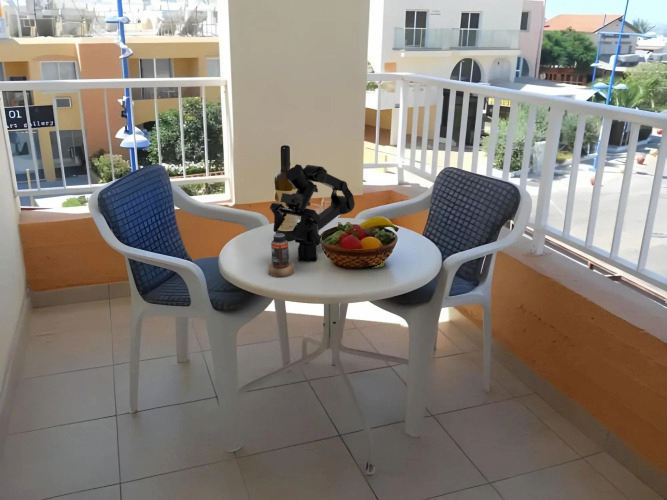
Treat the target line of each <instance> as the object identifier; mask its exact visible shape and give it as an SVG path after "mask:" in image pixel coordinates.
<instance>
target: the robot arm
mask: <svg viewBox="0 0 667 500" xmlns="http://www.w3.org/2000/svg"><path fill="white" fill-rule="evenodd" d="M285 178H286V179H287V180H288V182H289V183H290V184H291V186H292V187H294V189H296V191H295V193H294V192H293V193H284V192H282V194H281V197H280V202H275V201H274V202H272V203H271V204H270V206H269V209H270V211H271V213H273V215H274V219H273V220H274V222H273V232H274V233H277V231H278V230H279V229H280V228H281V226H282V224H283V223H284V221H285V220H286V218H285V217H287V215H290V216H295V217H300V220H299V222H296V224H295V226H294V227H293V229H292V236H293V239H294V242H295V243H298V244H299V245H298V247H297V258H298V261H299V262H317V261H318V260H317V259H318V257H319V255H318V246H320V244H322V241H321V242H320V238H321V237H322V236H321V235H320V234H319V232H320V230H322V229H323V228H325V226H327V225H328V224H329V223H331V222H332V221H333V220H335V219H336V218H337V217H339V216H341V215H345V214H349V213H351V212H352V211H353V210H354V208H355V198H354V195H353V193H352V191H351V190H350V189H349V187H348V182H347V181H345V180H341V179H340V178H338V177H336V176H333V175H331V174H329V173H328V171H327V169H325V168H324V166H318V165H313V164H312V165H311V164H307V165H305V166H304V167H303V166H302V165H301V164H295V165H294V166H293V167H291V168H289V169H288V170H287V171H286V173H285ZM313 182H314V183H320V184H321V185H325V186H326V187H329V188H330V189H332V193H331V194H330V199H331V200H330V205H329V206H328V207H326V208H325V209H324V210H322V211H321V212H320V213H318V212H317V210H315V209H310V208H307V207H308V206H309V207H310V206H311V199H312V197H313V195H314V193H318V192H319V190H318V185H317V184H314V183H313ZM337 191H339V192H341V193H342V195H343V196H342V195H338V194H337ZM283 203H284V204H285V206H284V205H283Z"/></svg>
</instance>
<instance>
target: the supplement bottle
mask: <svg viewBox="0 0 667 500" xmlns="http://www.w3.org/2000/svg"><path fill="white" fill-rule="evenodd" d="M270 244H271V247H270V249H271V263H272V265H273V266H274V267H276V268H284V267H287V266H288V265H289V262H290V255H289V250H290V249H289V242H288V240H287V239H286V235H285V234H284V233H279V232H278V233H275V234H273V240H272V241H271V243H270Z"/></svg>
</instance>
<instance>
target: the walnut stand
mask: <svg viewBox="0 0 667 500" xmlns="http://www.w3.org/2000/svg"><path fill="white" fill-rule="evenodd" d="M294 274H295V264H294V263H292V262H291V261H289V265H288V266H287V267H284V268H276V267H274V266H273V265H272V262H271V263H269V265H268V275H269V276H270V277H274V278H288V277H291V276H293V275H294Z"/></svg>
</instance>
